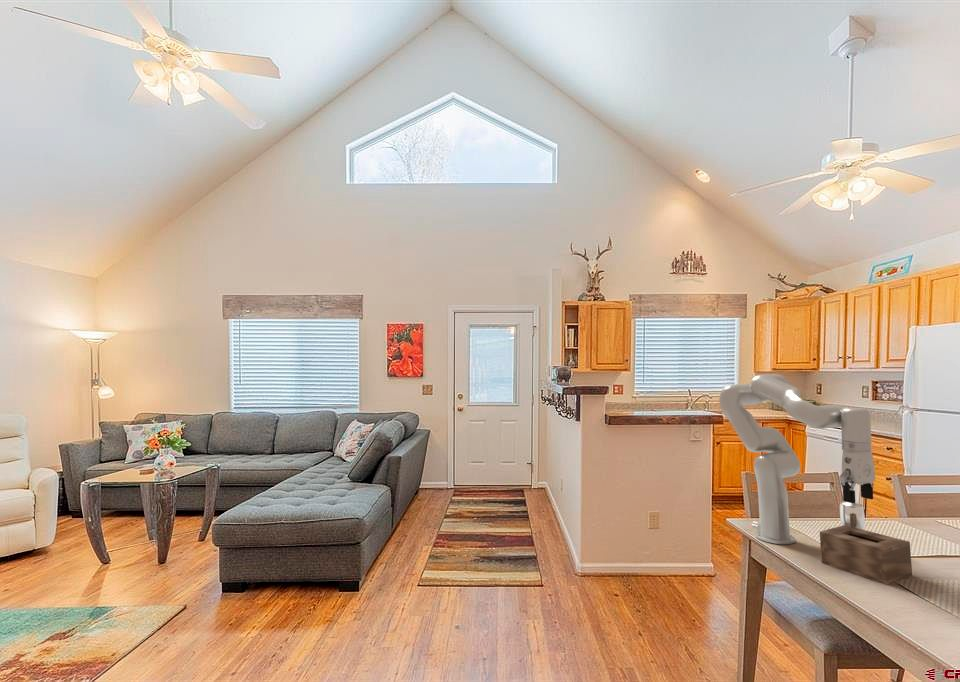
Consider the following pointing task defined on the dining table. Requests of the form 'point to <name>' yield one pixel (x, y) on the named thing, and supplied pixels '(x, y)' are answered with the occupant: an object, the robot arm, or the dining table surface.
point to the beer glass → (852, 515)
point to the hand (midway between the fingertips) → (858, 500)
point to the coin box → (866, 553)
